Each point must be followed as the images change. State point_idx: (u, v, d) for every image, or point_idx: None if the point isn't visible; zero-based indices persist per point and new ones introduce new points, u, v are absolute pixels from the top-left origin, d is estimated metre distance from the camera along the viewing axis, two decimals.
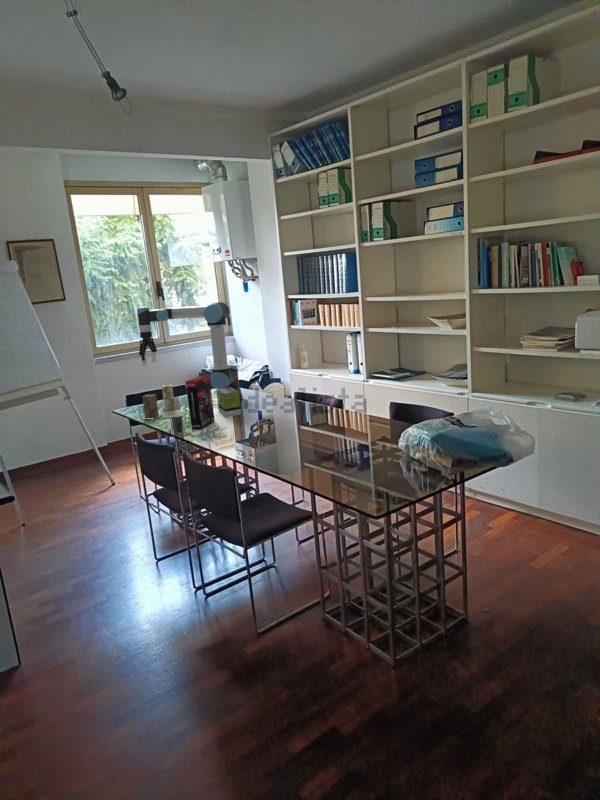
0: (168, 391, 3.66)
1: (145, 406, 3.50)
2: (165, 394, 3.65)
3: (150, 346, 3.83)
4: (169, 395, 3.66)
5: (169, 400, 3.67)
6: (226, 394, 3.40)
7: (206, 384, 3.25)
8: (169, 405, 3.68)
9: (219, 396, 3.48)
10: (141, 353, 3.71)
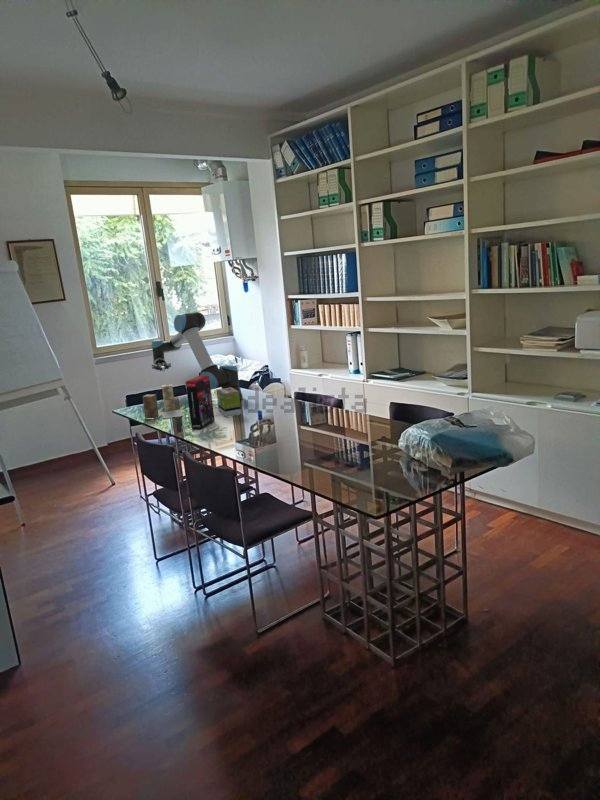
0: (168, 391, 3.66)
1: (145, 406, 3.50)
2: (165, 394, 3.65)
3: (162, 366, 3.91)
4: (169, 395, 3.66)
5: (169, 400, 3.67)
6: (226, 394, 3.40)
7: (206, 384, 3.25)
8: (169, 405, 3.68)
9: (219, 396, 3.48)
10: None
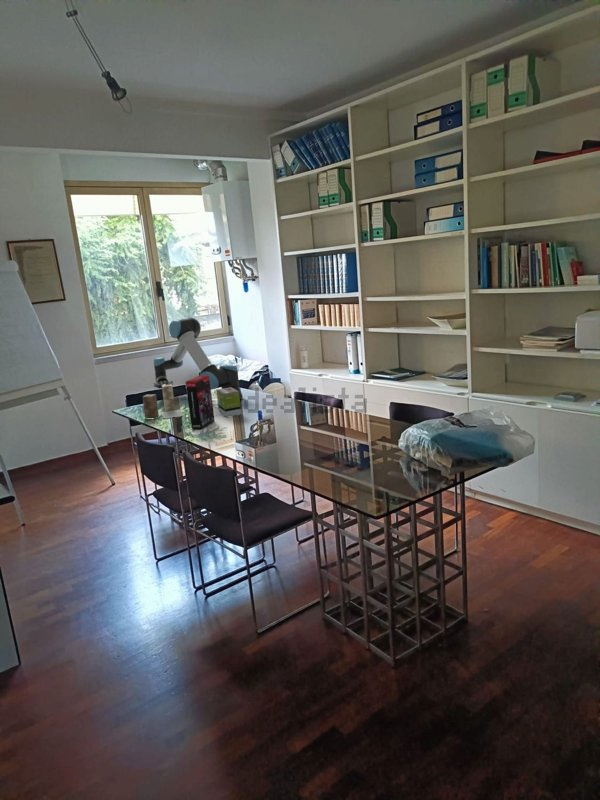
0: (168, 391, 3.66)
1: (145, 406, 3.50)
2: (165, 394, 3.65)
3: (164, 384, 3.93)
4: (169, 395, 3.66)
5: (169, 400, 3.67)
6: (226, 394, 3.40)
7: (206, 384, 3.25)
8: (169, 405, 3.68)
9: (219, 396, 3.48)
10: None
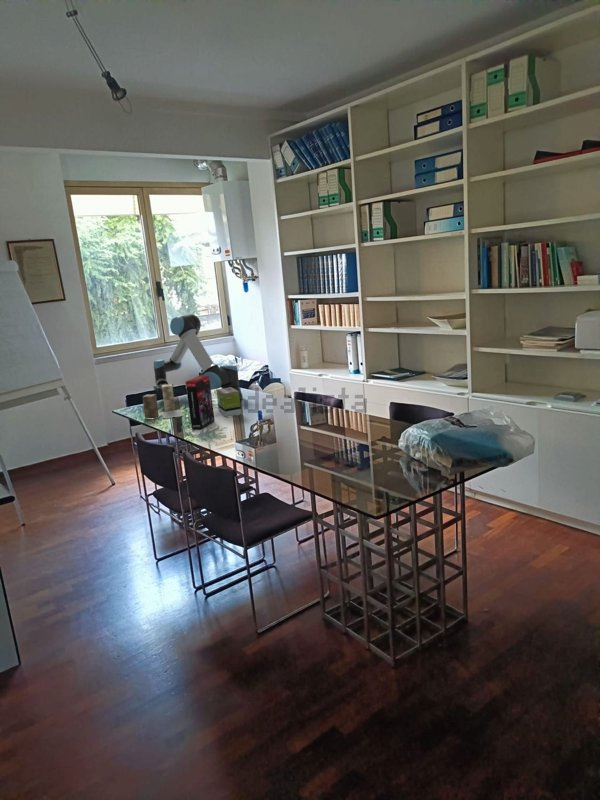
0: (168, 391, 3.65)
1: (145, 406, 3.50)
2: (165, 394, 3.65)
3: None
4: (169, 395, 3.66)
5: (169, 400, 3.67)
6: (226, 394, 3.40)
7: (206, 384, 3.25)
8: (169, 405, 3.67)
9: (219, 396, 3.48)
10: None
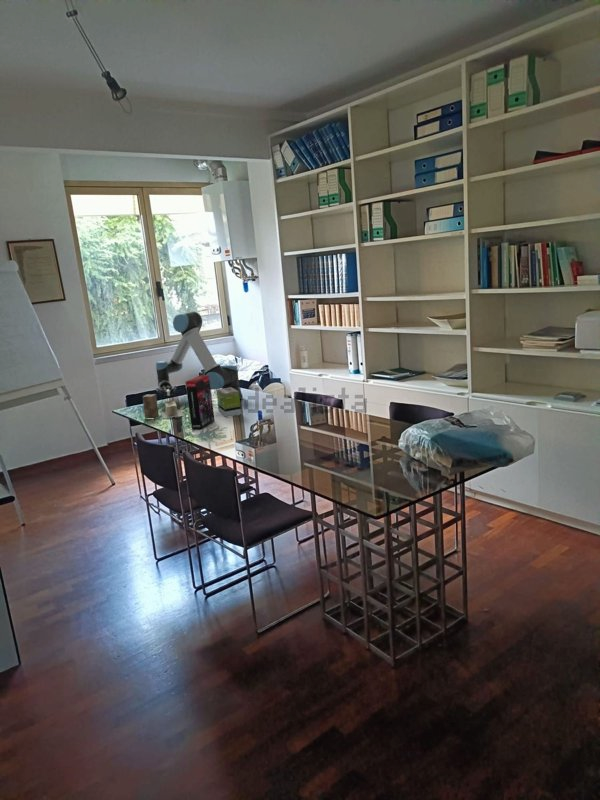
0: None
1: (145, 406, 3.50)
2: None
3: (167, 389, 3.75)
4: None
5: None
6: (226, 394, 3.40)
7: (206, 384, 3.25)
8: None
9: (219, 396, 3.48)
10: None
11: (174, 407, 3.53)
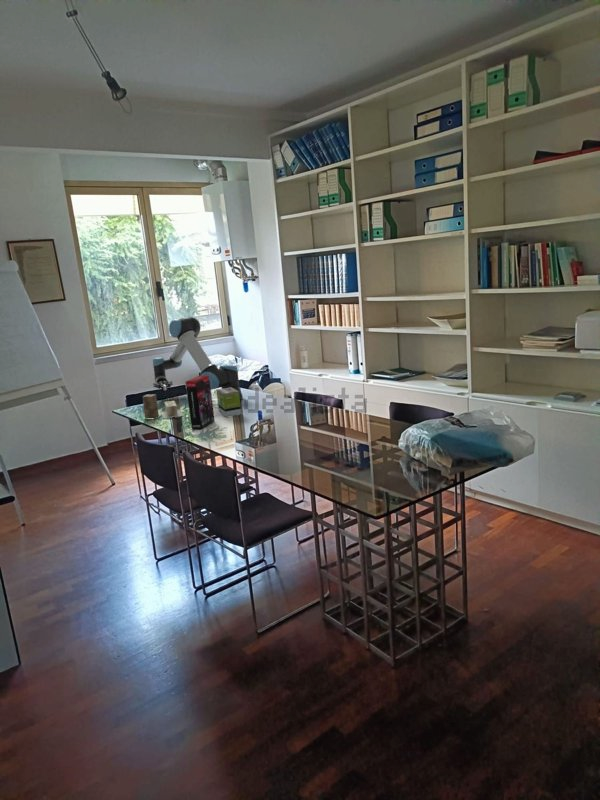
0: None
1: (145, 406, 3.50)
2: None
3: (164, 384, 3.91)
4: None
5: None
6: (226, 394, 3.40)
7: (206, 384, 3.25)
8: None
9: (219, 396, 3.48)
10: None
11: (174, 407, 3.53)
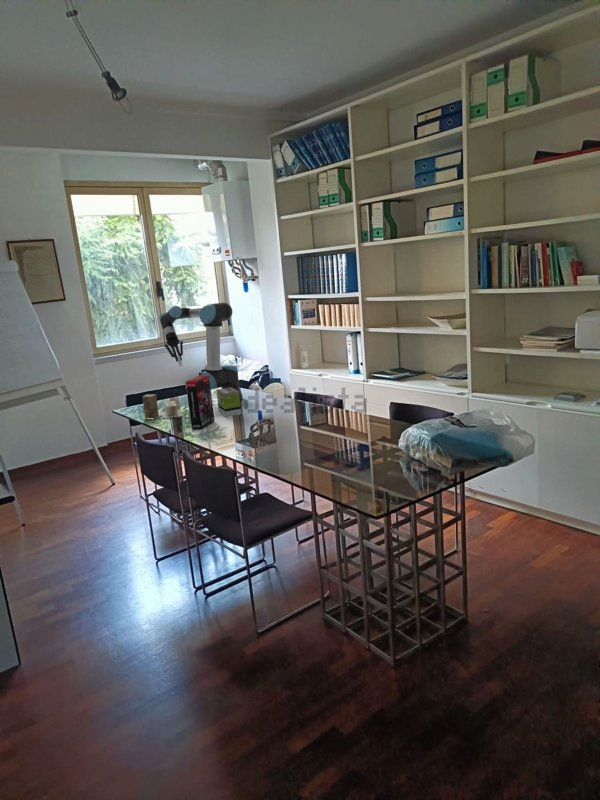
0: None
1: (145, 406, 3.50)
2: None
3: (176, 348, 3.89)
4: None
5: None
6: (226, 394, 3.40)
7: (206, 384, 3.25)
8: None
9: (219, 396, 3.48)
10: (172, 355, 3.86)
11: (174, 407, 3.53)
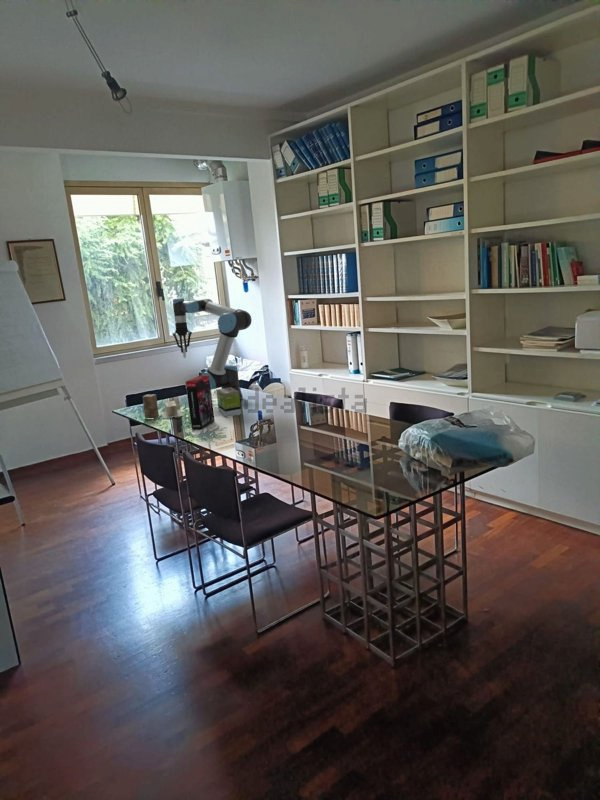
0: None
1: (145, 406, 3.50)
2: None
3: None
4: None
5: None
6: (226, 394, 3.40)
7: (206, 384, 3.25)
8: None
9: (219, 396, 3.48)
10: (178, 345, 3.87)
11: (174, 407, 3.53)
